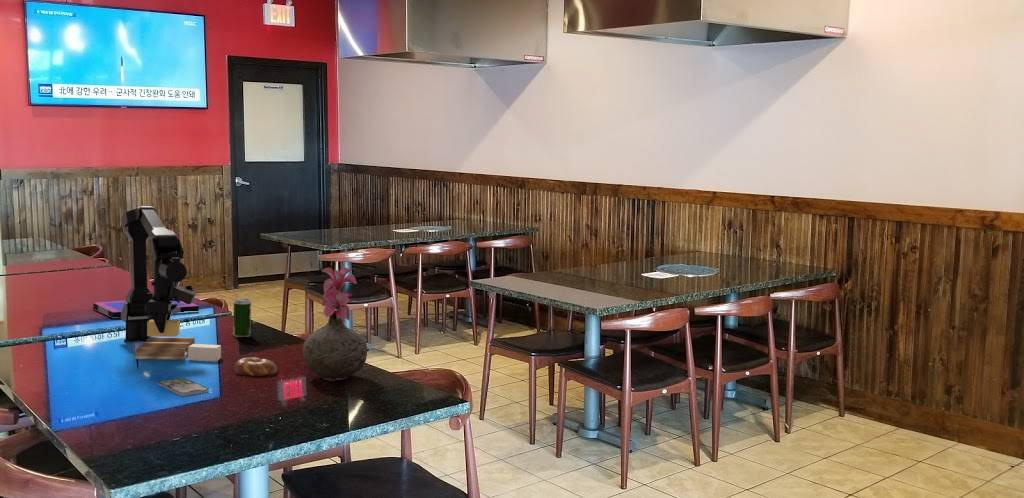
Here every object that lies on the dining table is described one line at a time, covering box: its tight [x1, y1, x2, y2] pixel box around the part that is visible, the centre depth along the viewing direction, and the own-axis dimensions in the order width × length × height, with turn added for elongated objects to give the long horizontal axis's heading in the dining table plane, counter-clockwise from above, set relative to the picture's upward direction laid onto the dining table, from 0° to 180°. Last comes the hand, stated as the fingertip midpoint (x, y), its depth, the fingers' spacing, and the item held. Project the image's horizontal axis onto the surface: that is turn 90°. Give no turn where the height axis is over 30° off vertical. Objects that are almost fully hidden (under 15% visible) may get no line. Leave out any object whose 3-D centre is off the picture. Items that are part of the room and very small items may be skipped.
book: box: [92, 300, 200, 317], centre depth 319 cm, size 21×3×30 cm
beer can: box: [232, 298, 252, 338], centre depth 284 cm, size 5×5×12 cm
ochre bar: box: [147, 319, 181, 337], centre depth 252 cm, size 8×4×4 cm, turn 100°
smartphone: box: [157, 377, 209, 397], centre depth 221 cm, size 7×1×15 cm
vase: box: [302, 266, 368, 379], centre depth 237 cm, size 17×17×30 cm
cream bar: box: [187, 343, 222, 362], centre depth 252 cm, size 8×4×4 cm, turn 90°
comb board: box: [135, 336, 196, 360], centre depth 257 cm, size 13×16×3 cm
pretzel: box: [234, 356, 278, 377], centre depth 241 cm, size 12×11×4 cm
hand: (163, 331), depth 253 cm, fingers closed on ochre bar, 4 cm apart
